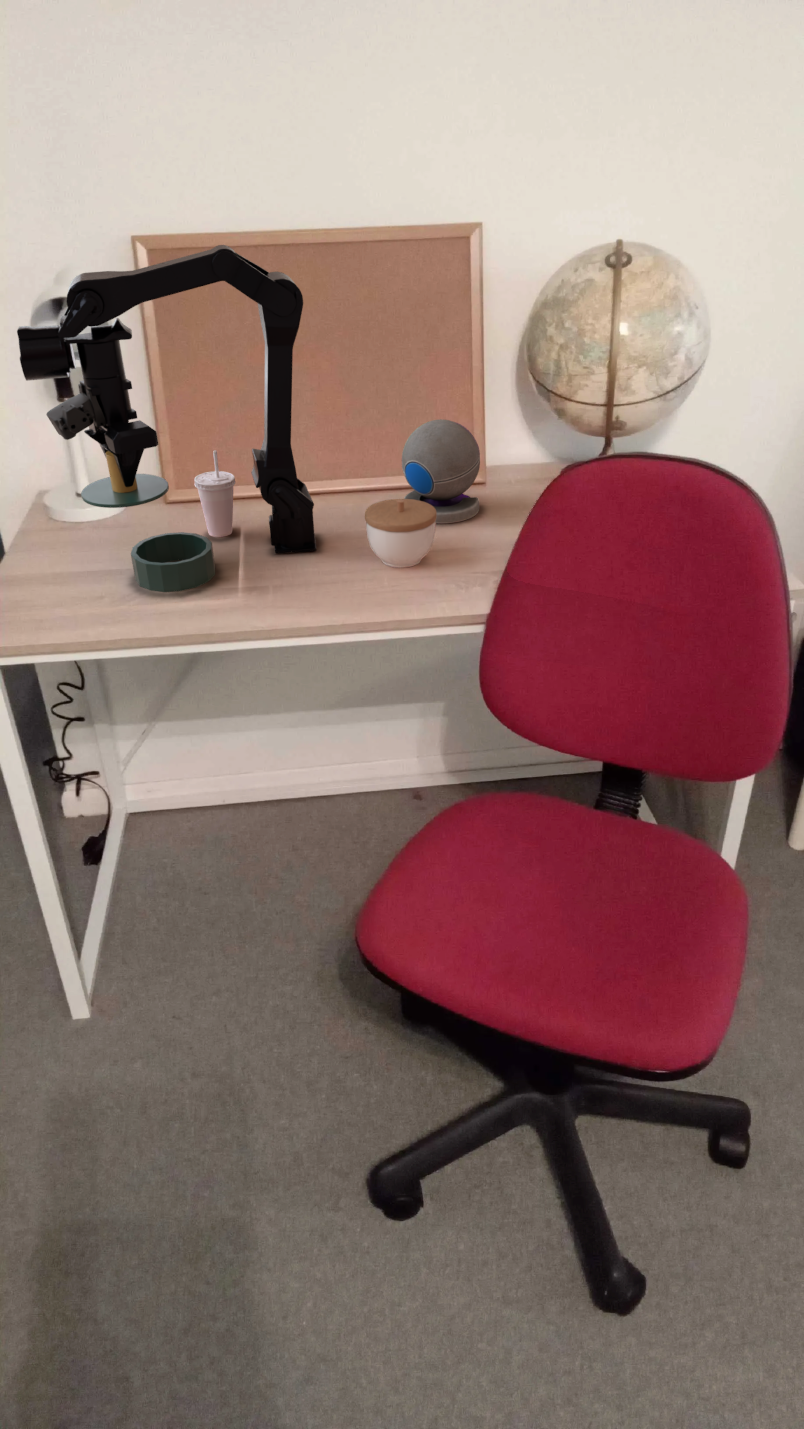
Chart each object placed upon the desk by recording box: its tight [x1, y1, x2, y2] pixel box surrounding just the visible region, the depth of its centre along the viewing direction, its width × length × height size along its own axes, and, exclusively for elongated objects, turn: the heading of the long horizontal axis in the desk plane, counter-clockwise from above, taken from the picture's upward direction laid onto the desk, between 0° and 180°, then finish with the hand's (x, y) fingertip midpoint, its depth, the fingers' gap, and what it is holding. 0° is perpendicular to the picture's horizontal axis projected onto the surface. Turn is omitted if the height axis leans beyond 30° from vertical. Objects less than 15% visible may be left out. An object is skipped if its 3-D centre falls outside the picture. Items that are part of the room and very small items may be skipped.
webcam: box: [401, 418, 481, 524], centre depth 164 cm, size 13×13×15 cm
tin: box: [130, 531, 216, 593], centre depth 146 cm, size 12×12×5 cm
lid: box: [80, 451, 170, 509], centre depth 145 cm, size 13×13×7 cm
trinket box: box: [364, 498, 437, 569], centre depth 149 cm, size 11×11×9 cm
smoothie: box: [193, 449, 236, 538], centre depth 157 cm, size 6×6×14 cm
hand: (124, 482), depth 145 cm, fingers closed on lid, 3 cm apart
